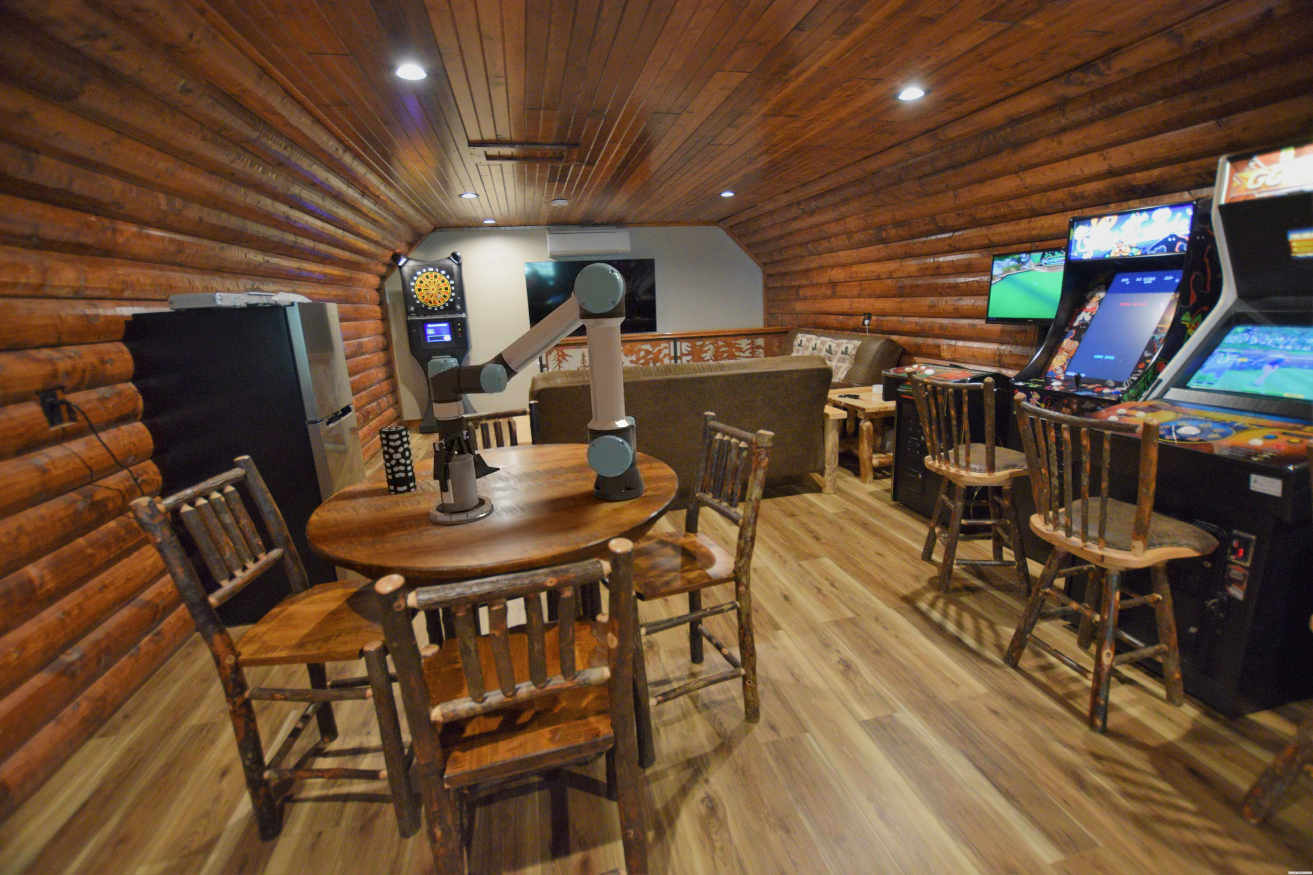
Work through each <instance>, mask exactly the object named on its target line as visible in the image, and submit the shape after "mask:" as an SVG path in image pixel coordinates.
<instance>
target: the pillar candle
mask: <svg viewBox="0 0 1313 875" xmlns="http://www.w3.org/2000/svg"><path fill="white" fill-rule="evenodd" d="M444 464H448V465H449V472H450V473H449V478H448V479H451V485H452V492H453V499H454V503H443V496H442V492H441V487H440V481H439V480H438V486H439V491H440V492H439V494H440V501H442V508H443V509H444V510H446V511H462V510H467V509H470V508H472V507H474V506H475V505H477V504H478V503H479V501H478V495H479V494H478V485H477V479H476V476H475V468H474V460H473V455H471V454H466V455H465V454H458V453H457V452H456V453H455V454H454V455H453V456H452V461H451V462H450V463H444ZM444 476H445V475H444Z"/></svg>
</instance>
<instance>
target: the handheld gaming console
mask: <svg viewBox="0 0 1313 875" xmlns="http://www.w3.org/2000/svg"><path fill="white" fill-rule="evenodd" d="M476 457H477V460H478V462H477V463H475V464H477V466H476V467H474V468H475V476H476V478H477V479H476V480H479V479H481V477H482V478H483V476H484V477H487V476H489V475H491V474H494V473H496V472H498V471H501V469H500V467H496V466H489V465H488V463H487V462H486V461H485V459H484V458H483V456H482V455H481V454H480V453H479V452H478V453H476ZM488 474H489V475H488ZM486 475H487V476H486ZM478 478H479V479H478Z"/></svg>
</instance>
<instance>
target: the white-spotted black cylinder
mask: <svg viewBox="0 0 1313 875" xmlns="http://www.w3.org/2000/svg"><path fill="white" fill-rule="evenodd" d="M378 436H379V439H380V440H379V442H380V446H381V447H380V448H381V454H382V459H383V461H382V462H383V467H384V472H385V478H386V479H385V480H386V483H387V485H386V486H387V490H388V493H389V494H391V495H401V494H402V493H403V494H407V492H408V493H411V492H413V491H415V490H417V488H418V486H417V481H416V480H417V478H416V474H415V466H414V459H413V451H412V446H411V439H410V432H409V426H407V425H392V426H385V427H381V428H379V429H378Z"/></svg>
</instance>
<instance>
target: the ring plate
mask: <svg viewBox="0 0 1313 875" xmlns="http://www.w3.org/2000/svg"><path fill="white" fill-rule="evenodd" d="M478 501H479V503H478V504H477V505H475V506H474V507H472V508H470V509H467V510H462V511H446V510H444V509H443V508H442V501H441V500H440V501H438V502H437V503H434V504H433V505H431V507H430V510H429V514H428V518H429V521H430V522H431V523H432V524H435V525H439V526H461V525H465V524H466V525H467V524H471V523H474V522H478V521H480V520H484V519H485V518H487V517H489V516H490V515H492V513H494V510H495V509H494V504H493V503H492V498H490V497H487V496H485V495H479V494H478Z"/></svg>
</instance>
